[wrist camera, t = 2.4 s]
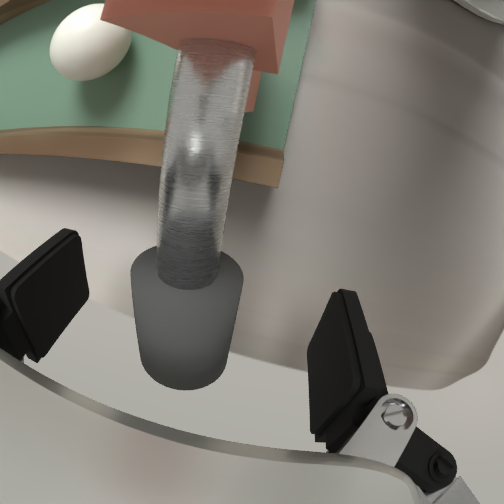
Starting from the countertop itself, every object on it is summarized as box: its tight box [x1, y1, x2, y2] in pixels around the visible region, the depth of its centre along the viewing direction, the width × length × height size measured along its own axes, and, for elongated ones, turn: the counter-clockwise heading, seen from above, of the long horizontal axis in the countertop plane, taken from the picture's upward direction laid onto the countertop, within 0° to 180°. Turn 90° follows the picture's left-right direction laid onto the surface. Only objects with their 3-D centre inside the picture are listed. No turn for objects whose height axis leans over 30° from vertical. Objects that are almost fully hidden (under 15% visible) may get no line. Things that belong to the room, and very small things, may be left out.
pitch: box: [0, 0, 316, 188], centre depth 9 cm, size 11×36×4 cm, turn 79°
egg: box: [50, 3, 132, 81], centre depth 8 cm, size 4×4×4 cm
